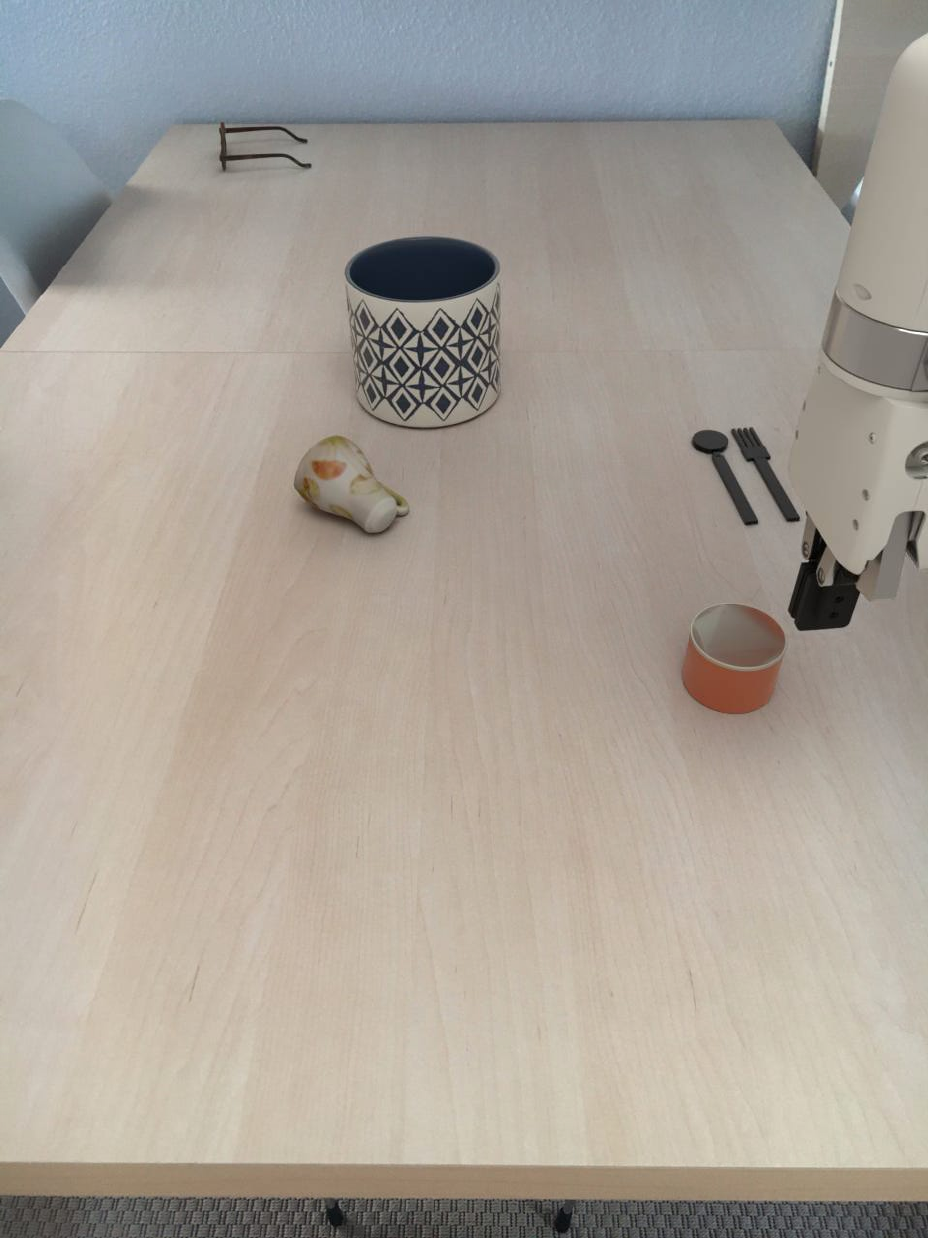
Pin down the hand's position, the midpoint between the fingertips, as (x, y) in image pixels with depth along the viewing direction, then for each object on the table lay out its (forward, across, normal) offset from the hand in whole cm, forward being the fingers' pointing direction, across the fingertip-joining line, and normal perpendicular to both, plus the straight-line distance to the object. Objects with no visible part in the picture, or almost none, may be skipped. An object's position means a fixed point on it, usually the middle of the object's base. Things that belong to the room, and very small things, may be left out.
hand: (817, 619), depth 59 cm
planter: (+16, +57, +19) cm, 62 cm away
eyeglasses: (+16, +138, +40) cm, 144 cm away
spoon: (+16, +37, -8) cm, 41 cm away
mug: (+16, +36, +28) cm, 48 cm away
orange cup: (+16, +10, 0) cm, 19 cm away
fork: (+16, +37, -12) cm, 42 cm away
